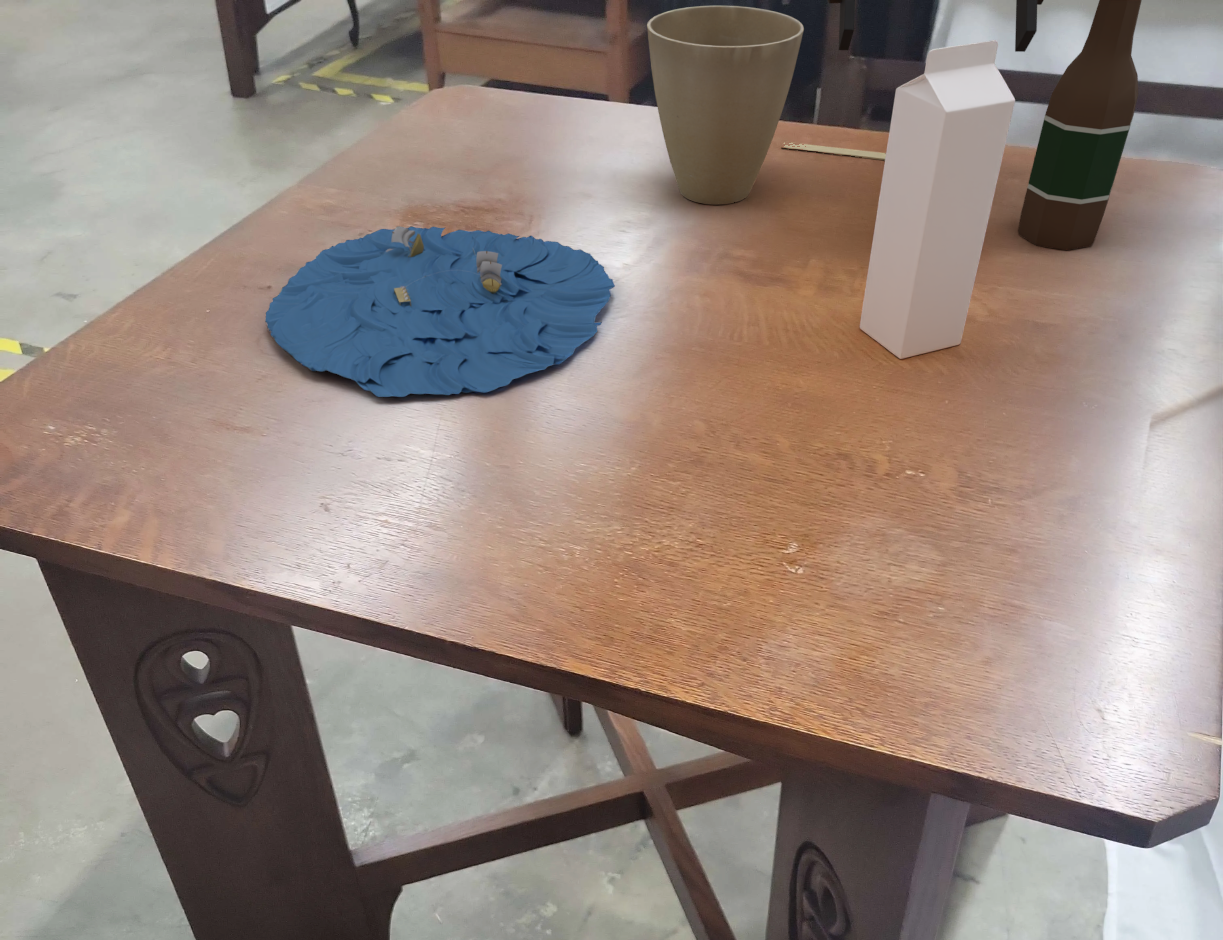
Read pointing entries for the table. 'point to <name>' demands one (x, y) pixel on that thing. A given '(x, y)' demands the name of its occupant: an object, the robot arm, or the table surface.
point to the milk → (936, 199)
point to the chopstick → (840, 151)
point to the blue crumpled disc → (439, 309)
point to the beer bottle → (1084, 134)
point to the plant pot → (721, 93)
